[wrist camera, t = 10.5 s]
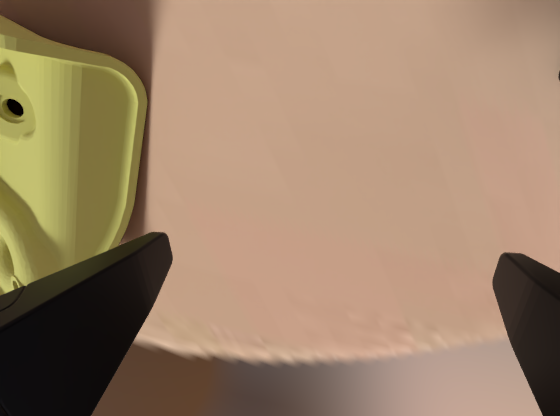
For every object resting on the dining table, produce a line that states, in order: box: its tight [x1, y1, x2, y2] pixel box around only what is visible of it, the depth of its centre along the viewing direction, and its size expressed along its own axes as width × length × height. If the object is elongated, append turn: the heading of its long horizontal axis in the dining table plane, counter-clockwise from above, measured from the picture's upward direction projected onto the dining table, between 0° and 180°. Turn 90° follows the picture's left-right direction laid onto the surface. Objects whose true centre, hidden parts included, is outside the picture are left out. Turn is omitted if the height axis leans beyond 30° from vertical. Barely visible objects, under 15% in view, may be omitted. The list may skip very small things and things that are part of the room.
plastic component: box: [0, 15, 148, 295], centre depth 23 cm, size 20×7×10 cm
